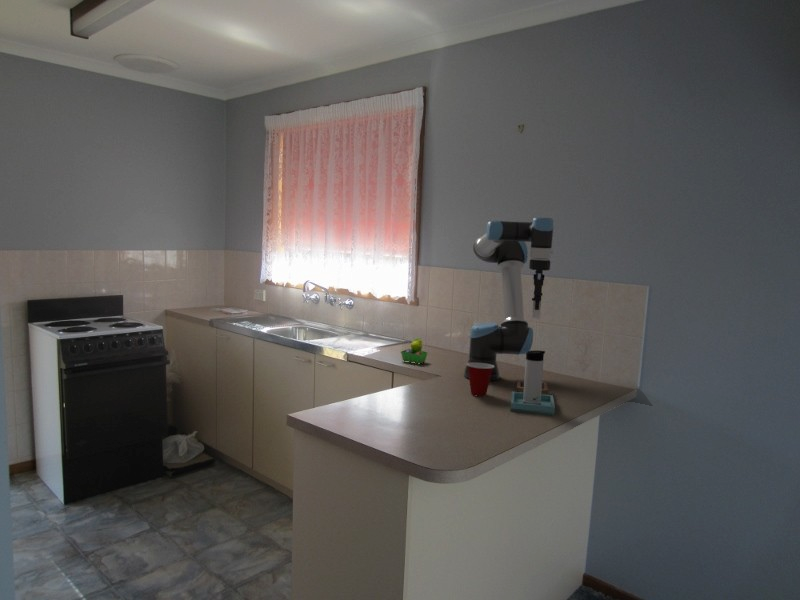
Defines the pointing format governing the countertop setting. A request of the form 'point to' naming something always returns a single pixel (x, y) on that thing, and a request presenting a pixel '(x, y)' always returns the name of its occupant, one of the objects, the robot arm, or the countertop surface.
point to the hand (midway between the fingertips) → (535, 315)
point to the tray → (545, 407)
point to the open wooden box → (521, 387)
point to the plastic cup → (479, 377)
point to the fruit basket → (415, 352)
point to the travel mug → (533, 377)
